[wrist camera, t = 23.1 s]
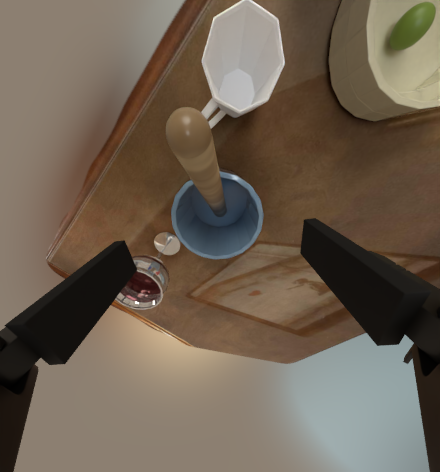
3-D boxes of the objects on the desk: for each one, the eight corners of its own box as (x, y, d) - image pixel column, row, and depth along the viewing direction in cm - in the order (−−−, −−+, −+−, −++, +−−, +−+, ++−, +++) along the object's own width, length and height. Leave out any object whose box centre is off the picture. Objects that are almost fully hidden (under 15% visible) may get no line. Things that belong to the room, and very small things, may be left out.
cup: (274, 98, 20) (302, 63, 13) (218, 157, 23) (216, 156, 16) (238, 42, 18) (249, -37, 11) (183, 115, 21) (162, 92, 14)
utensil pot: (182, 172, 24) (159, 179, 15) (247, 163, 24) (263, 165, 15) (195, 231, 29) (182, 262, 20) (250, 224, 28) (264, 254, 19)
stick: (213, 206, 26) (153, 99, 7) (226, 204, 26) (203, 87, 6) (215, 219, 26) (160, 148, 7) (228, 216, 26) (211, 137, 6)
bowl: (340, -72, 15) (408, -206, 9) (534, -119, 14) (739, -303, 8) (317, 130, 22) (348, 120, 16) (445, 110, 21) (524, 92, 15)
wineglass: (161, 263, 32) (129, 315, 21) (142, 235, 29) (94, 278, 18) (191, 252, 31) (173, 302, 20) (173, 222, 28) (142, 260, 17)
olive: (448, 5, 15) (444, 13, 14) (409, 50, 18) (404, 59, 17) (418, -7, 15) (412, -1, 14) (385, 39, 18) (378, 47, 17)
